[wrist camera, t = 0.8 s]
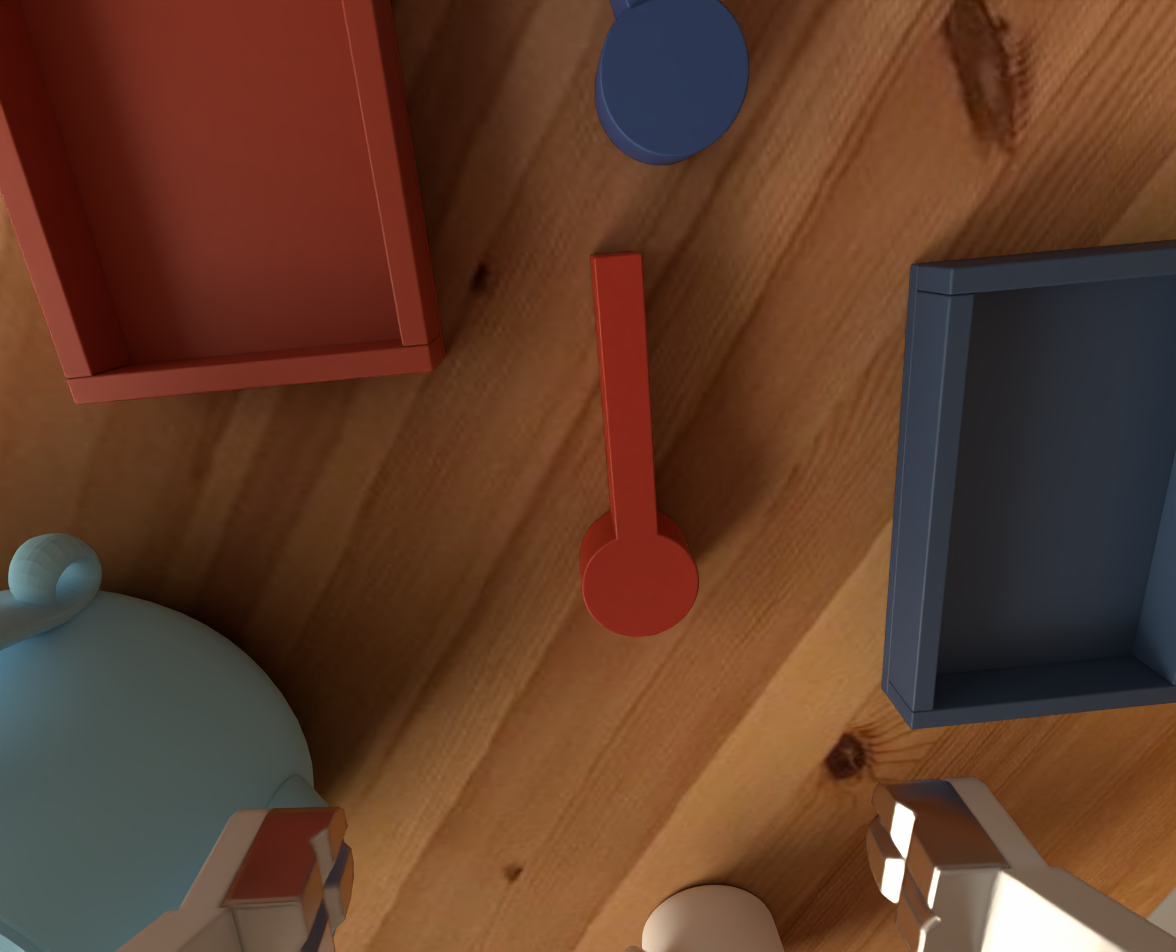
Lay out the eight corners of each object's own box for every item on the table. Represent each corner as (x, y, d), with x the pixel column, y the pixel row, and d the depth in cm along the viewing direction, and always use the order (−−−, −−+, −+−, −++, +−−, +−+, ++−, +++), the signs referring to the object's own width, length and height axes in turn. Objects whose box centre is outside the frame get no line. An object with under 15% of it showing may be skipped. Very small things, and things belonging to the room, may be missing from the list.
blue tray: (909, 263, 22) (951, 267, 20) (1229, 234, 22) (1308, 234, 20) (880, 688, 28) (910, 730, 26) (1136, 662, 28) (1190, 701, 26)
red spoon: (548, 258, 22) (547, 261, 19) (673, 247, 22) (687, 248, 20) (584, 607, 26) (586, 643, 24) (688, 597, 26) (701, 631, 24)
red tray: (-86, -271, 17) (-189, -353, 15) (342, -306, 17) (309, -393, 15) (124, 387, 22) (74, 405, 20) (446, 357, 23) (433, 371, 20)
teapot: (168, 969, 31) (-59, 1400, 20) (-230, 718, 26) (-859, 1107, 14) (442, 767, 28) (364, 1139, 17) (53, 437, 23) (-459, 644, 11)
